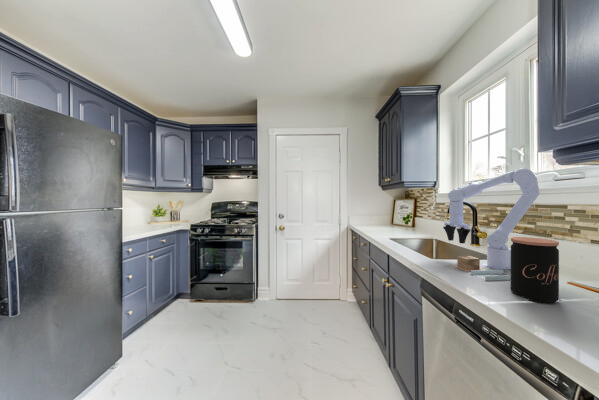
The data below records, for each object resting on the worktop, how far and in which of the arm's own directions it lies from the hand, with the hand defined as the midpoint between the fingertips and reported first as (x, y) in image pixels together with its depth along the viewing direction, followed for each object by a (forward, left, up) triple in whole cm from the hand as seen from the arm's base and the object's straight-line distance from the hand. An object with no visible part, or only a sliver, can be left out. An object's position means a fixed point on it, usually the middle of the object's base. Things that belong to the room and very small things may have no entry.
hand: (456, 241), depth 115 cm
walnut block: (+5, +14, -9) cm, 17 cm away
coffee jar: (+7, +42, -10) cm, 44 cm away
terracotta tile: (+5, +14, -9) cm, 18 cm away
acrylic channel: (+4, +25, -9) cm, 27 cm away
